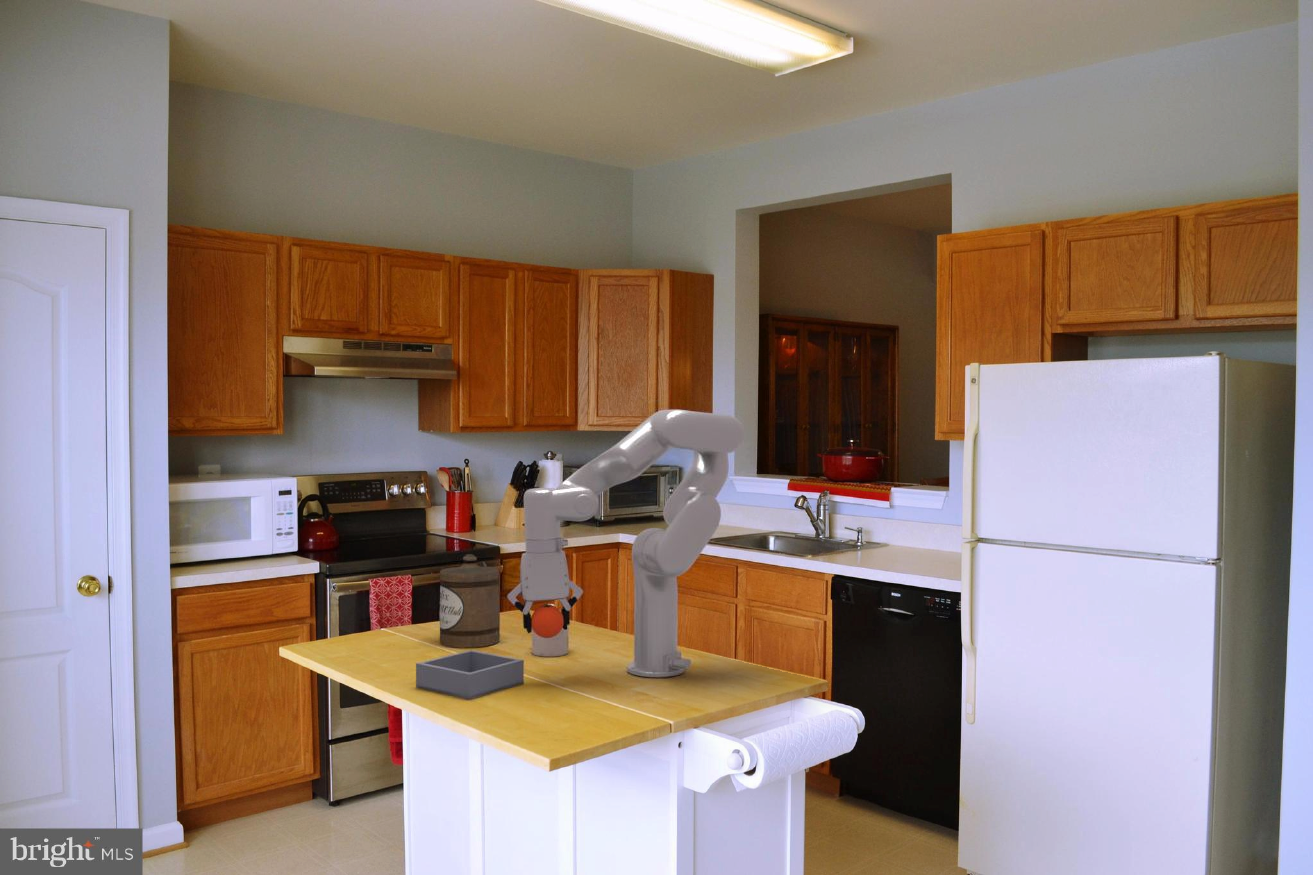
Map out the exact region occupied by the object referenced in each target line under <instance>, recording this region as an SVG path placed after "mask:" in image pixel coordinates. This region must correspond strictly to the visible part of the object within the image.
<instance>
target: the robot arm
mask: <svg viewBox="0 0 1313 875" xmlns="http://www.w3.org/2000/svg"><path fill="white" fill-rule="evenodd" d="M745 432H746V431H745V428H744V425H743V423H742V422H741V420H739V419H738V418H737V417H736V416H733V415H730V414H724V413H723V414H722V413H711V412H703V411H692V410H685V409H677V408H675V409H662V410H658V411H656V412H655V413H652V414H651V415H650V416H649V417H648V418H646V419H645V420H644V421H643V422H642V423H640V424H639V425H638V426H636V428H634V429H632V430H631V431H630V432H629V433H628V434H627V435H626V436H625V437H623V438H622V439H621V440H620V441H618V442H617V443H616V444H614V445H613V446H612V447H610V448H609V449H607V450H606V451H604V452H602V453H601V454H599V455H598V456H597V457H595V458H593V459H592V460H590V461H589V462H586V463H585V464H584V465H583V466H581V467H580V468H579V469H577V470H576V471H575V472H573V473H572V474H571V475H570V476H569V477H567V478H566V479H565V480H564V481H562V482H561V483H560V484H559V485H558V486H557V487H556V488H553V487H539V488H538V487H535V488H529V489H527V490H526V491H525V492H524V494H523V509H524V510H523V513H524V515H523V517H524V533H525V534H524V537H525V538H524V539H525V540H524V541H525V552H524V553H522V554H521V560H520V572H519V573H520V575H519V577H520V578H519V580H520V581H519V584H517V585H516V586H515V587H514V588H513V589H512V590H511V591H510V592H509V593H508V594H507V595H506V597H507V599H508V601H509V602H511V604H512V605H513V606H515V608H516V609H517V610H519V612H521V613H522V619H523V620H522V622H523V623H522V626H523V629H526V632H527V634H532V628H531V617H532V615H531V611H530V609H531V608H532V605H533V603H534V602H545V601H556V600H557V601H559V602H560V603H561V605H562V607H561V609H560V611H561V613H562V615H563V619H564V624H563V627H562V628H563V629H564V630H567V625H571V620H570V611H571V609H572V608H573V606H574V605H575V604H576V603H577V602H578V601H579V599H580V597H581V596H582V595H583V593H584V590H583V589H582V588H581V587H579V586H578V585H577V584H576V583H574V582H573V581H572V580H571V579H570V576H569V568H568V562H567V557H566V552H565V550H563V548H564V547H566V546H569V540H568V539H564V538H562V535H561V534H562V533H561V531H562V530H561V521H571V522H585V521H587V520H589V519H591V518H593V517H594V516H595V515H596V513H597V512H598V509H599V497H598V496H599V495H601V494H602V493H604V492H605V491H607V490H609V489H610V488H612V487H614V486H617V485H620V484H624V483H627V482H629V481H632V480H633V479H637V478H638V477H639V476H640V475H642V474H643V473H644V472H646V471H647V469H649V468H650V467H651V466H652V465H654V463H656V462H657V461H658V460H659V459H661V458H662V457H663V456H664V455H665V454H667V453H668V452H669V451H670V450H672V449H680V450H681V449H682V450H688V451H689V450H690V451H693V459H692V464H691V466H690V468H689V469H688V471H687V473H686V474H685V476H684V477H683V478H682V480H681V482H680V483H679V484H678V486H677V487H676V488H675V489H674V491H673V493H671V495H670V496H669V497H668V499H667V501H666V503H665V504H664V506H663V507H664V508H663V510H662V511H663V512H662V513H663V519H664V521H665V523H666V524H667V528H666V529H663V528H660V527H650V528H646V529H644V530H642V531H641V532H640V533H639V534H638V535H637V536H636V537H635V539H634V541H633V544H632V547H631V561H632V569H633V570H632V571H633V578H634V623H633V624H634V632H633V634H634V636H633V637H634V641H633V643H634V649H633V650H634V652H633V653H634V654H633V656H634V657H633V658H634V661H632V662H629V664H627V667H626V668H627V669H626V671H627V672H628V673H629V674H631V675H633V676H638V677H643V678H669V677H675V676H678V675H681V674H683V673H684V672H685V670H689V669H690V667H691V666H690V665H691V662H692V660H691V659H690V658H683V657H682V651H680V650H678V602H679V600H678V599H679V598H678V596H679V595H678V592H679V590H678V580H677V577H679V576H682V575H683V574H684V573H686V572H687V571H688V570H689V569H690V568H691V567H692V566H693V565H694V563H695V562H696V560H697V559H698V558H699V556H700V555H701V553H702V552H703V550H704V549H705V547H706V546H707V544H708V543H709V542H710V540H711V539H712V538H713V536H714V534H715V533H716V531H717V529H718V527H719V525H720V523H721V519H722V511H721V506H720V502H719V501H718V500H717V499H716V498H717V497H718V496H719V494H720V492H721V491H722V489H723V487H724V485H725V483H726V482H727V479H728V475H729V455H728V454H730V453H733V452H736V451H737V450H738V449H739V448H740V447H741V446H742V445H743V443H744V442H745V436H746V434H745ZM570 589H571V590H573V591H574V592H573V594H572V596H570V593H571V592H570V591H571V590H570ZM519 594H520V596H521V598H523V601H524V602H523V603H522V602H520V601H519V600H518V599H517V596H518V595H519ZM569 596H570V597H569ZM567 598H568V599H567Z"/></svg>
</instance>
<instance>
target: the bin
mask: <svg viewBox="0 0 1313 875" xmlns="http://www.w3.org/2000/svg"><path fill="white" fill-rule="evenodd" d="M524 660H525V659H522V658H517V657H511V656H510V657H509V656H504V655H500V654H494V653H489V652H483V651H479V650H473V649H469V650H465V651H462V652H457V653H453V654H449V655H444V656H440V657H436V658H432V659H428V660H425V661H424V660H423V661H421V662H416V663H415V688H416V689H420V690H425V691H429V692H434V693H437V694H438V693H439V694H443V695H447V696H452V697H456V698H461V699H465V700H473V699H477V698H479V697H480V698H481V697H482V696H486V695H490V694H495V693H497V692H500V691H502V690H507V689H510V688H512V687H513V688H514V687H517V686H520V685H523V684H524V682H525V681H524V679H525V678H524V677H525V675H524V674H525V670H524V669H525V664H524V662H525V661H524Z"/></svg>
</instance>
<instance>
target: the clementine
mask: <svg viewBox="0 0 1313 875" xmlns="http://www.w3.org/2000/svg"><path fill="white" fill-rule="evenodd" d="M563 624H564V619H563V615H562V613H561V609H559V608H558V607H556V605H555V606H553V605H547V603H546V604H544V605H541V606H539V607H537V608H536V609H534V612H532V615H531V626H532V629H533V631H534V632H535V633H536V634H537V635H538V636H540V637H543V638H552V637H554V636H556V635H557V634H558V633H559V632H560V631H561V630H562V627H563Z"/></svg>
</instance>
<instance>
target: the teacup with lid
mask: <svg viewBox="0 0 1313 875" xmlns="http://www.w3.org/2000/svg"><path fill="white" fill-rule="evenodd" d="M546 604H547V603H546ZM547 605H553V606H555V607H556V605H555V604H552V603H548V604H547ZM531 628H532V626H531ZM569 630H570V629H569V625H567V630H564V629H563V628H562V630H561V631H560V632H559V633H558V634H557V635H556V636H554V637H552V638H543V637H540V636H538V635H537V634H536V633H535V632H534V631H533V629H532V632H531V636H532V637H531V653H532V654H533V655H534V656H536V657H542V658H543V657H544V658H552V657H553V658H554V657H555V658H556V657H557V658H558V657H561V656H565V655H567V654H568V653H569Z"/></svg>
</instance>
